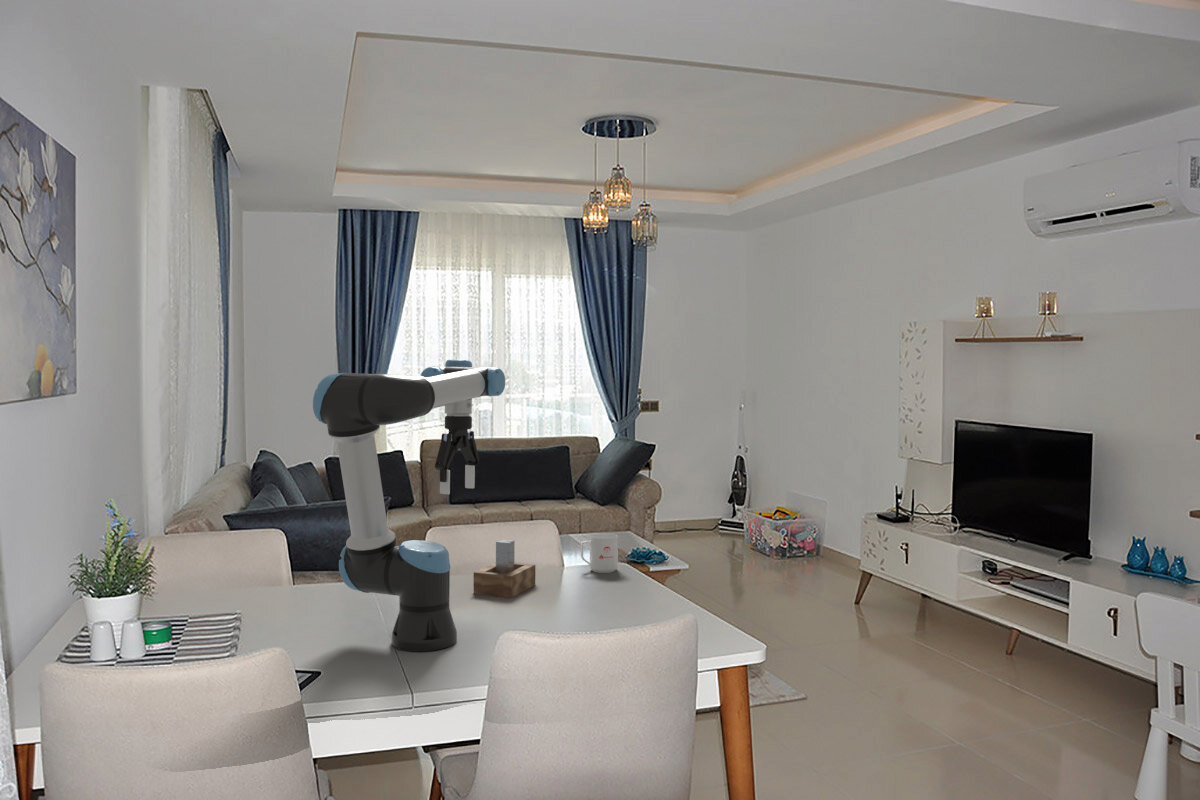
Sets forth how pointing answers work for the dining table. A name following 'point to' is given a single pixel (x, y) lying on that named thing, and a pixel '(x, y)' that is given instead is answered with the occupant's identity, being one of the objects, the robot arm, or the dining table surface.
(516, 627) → the dining table surface
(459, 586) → the dining table surface
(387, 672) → the dining table surface
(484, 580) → the box
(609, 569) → the mug
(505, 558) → the bracket
